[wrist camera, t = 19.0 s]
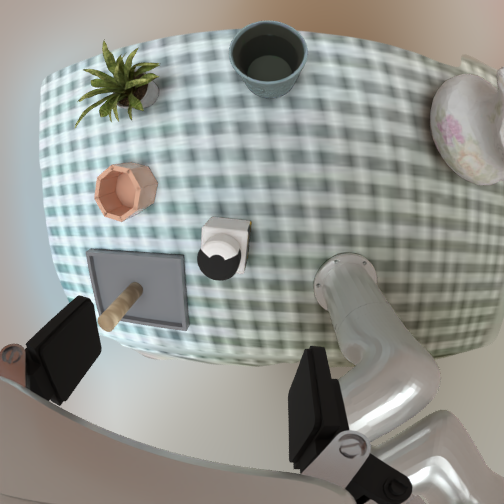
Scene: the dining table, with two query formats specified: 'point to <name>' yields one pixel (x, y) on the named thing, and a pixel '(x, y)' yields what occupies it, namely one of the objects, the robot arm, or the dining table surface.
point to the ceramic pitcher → (470, 127)
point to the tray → (149, 277)
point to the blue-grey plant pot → (268, 57)
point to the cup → (125, 190)
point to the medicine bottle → (224, 247)
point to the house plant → (122, 85)
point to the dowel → (120, 307)
